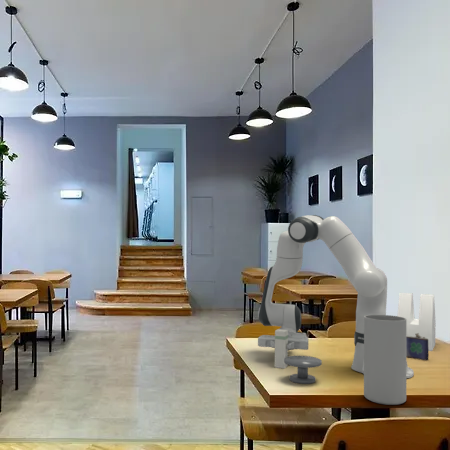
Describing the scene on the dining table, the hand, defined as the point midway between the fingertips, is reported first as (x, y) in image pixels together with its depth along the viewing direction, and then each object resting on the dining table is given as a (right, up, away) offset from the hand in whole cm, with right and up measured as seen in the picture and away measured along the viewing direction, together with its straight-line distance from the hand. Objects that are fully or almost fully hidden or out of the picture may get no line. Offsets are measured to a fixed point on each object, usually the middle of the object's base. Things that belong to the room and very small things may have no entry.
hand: (281, 346), depth 180 cm
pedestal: (+5, -7, -17) cm, 19 cm away
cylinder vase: (+28, -7, -36) cm, 46 cm away
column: (0, -8, 0) cm, 8 cm away
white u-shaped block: (+71, -12, +45) cm, 85 cm away
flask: (+60, -10, +19) cm, 64 cm away
